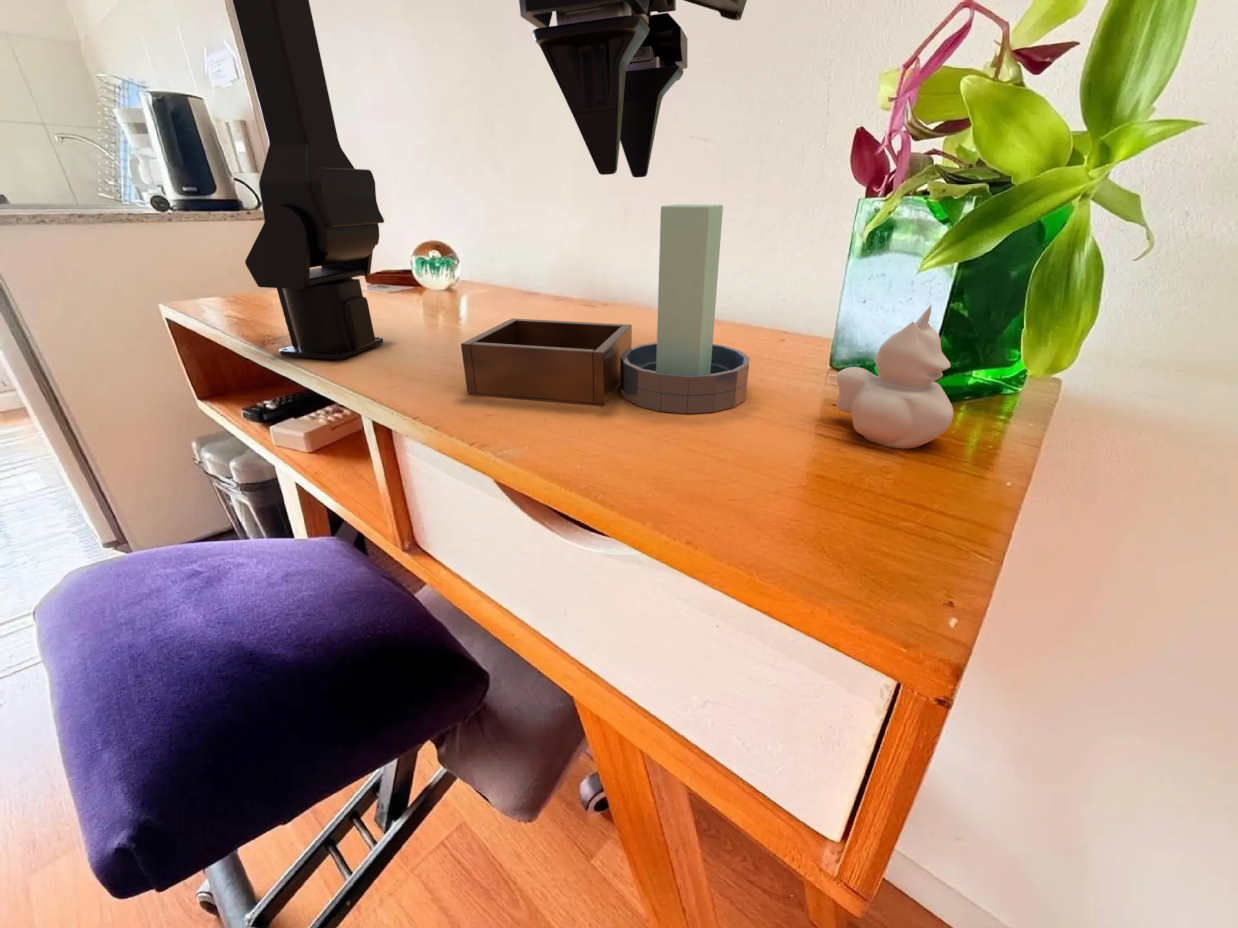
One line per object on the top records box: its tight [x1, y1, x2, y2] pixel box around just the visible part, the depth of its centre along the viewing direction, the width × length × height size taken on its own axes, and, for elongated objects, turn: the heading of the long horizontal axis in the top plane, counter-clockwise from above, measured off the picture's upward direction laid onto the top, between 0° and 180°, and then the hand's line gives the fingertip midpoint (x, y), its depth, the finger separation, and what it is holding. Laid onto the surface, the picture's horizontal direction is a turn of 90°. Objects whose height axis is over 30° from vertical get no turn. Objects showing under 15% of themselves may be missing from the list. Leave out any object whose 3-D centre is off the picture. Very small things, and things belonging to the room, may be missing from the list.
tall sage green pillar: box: [656, 204, 724, 375], centre depth 36 cm, size 3×4×12 cm
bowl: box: [619, 341, 751, 415], centre depth 38 cm, size 9×9×3 cm
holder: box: [460, 317, 633, 407], centre depth 40 cm, size 10×8×4 cm
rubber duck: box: [835, 305, 954, 450], centre depth 31 cm, size 5×7×8 cm
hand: (625, 176), depth 38 cm, fingers open, 9 cm apart
